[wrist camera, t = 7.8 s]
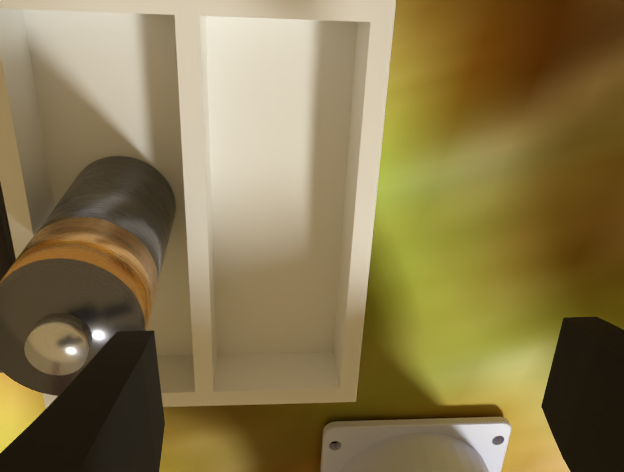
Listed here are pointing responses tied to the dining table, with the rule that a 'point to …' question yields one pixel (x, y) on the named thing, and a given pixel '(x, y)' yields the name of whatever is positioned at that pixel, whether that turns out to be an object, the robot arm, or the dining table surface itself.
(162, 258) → the battery cell
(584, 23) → the dining table surface
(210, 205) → the trough tray
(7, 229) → the checker cradle
